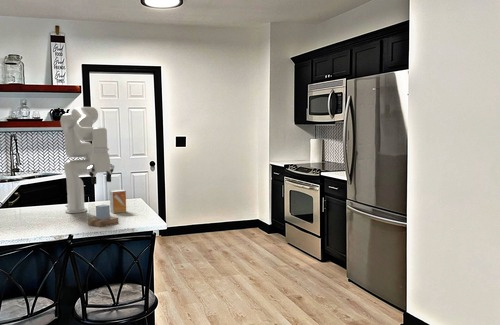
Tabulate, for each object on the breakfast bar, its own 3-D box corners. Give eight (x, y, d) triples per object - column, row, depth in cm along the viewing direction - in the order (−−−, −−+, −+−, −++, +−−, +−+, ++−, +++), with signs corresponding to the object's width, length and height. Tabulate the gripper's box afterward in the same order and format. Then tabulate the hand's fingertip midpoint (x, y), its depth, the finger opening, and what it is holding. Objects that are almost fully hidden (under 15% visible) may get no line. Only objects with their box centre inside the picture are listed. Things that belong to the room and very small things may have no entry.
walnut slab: (88, 224, 247) (88, 219, 246) (104, 220, 256) (104, 215, 255) (101, 227, 241) (101, 221, 240) (118, 223, 250) (118, 217, 250)
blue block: (96, 218, 247) (95, 205, 247) (103, 217, 251) (103, 204, 251) (102, 219, 244) (101, 206, 244) (110, 218, 249) (109, 205, 248)
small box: (113, 213, 276) (112, 191, 275) (110, 211, 281) (109, 190, 280) (126, 211, 281) (125, 190, 279) (123, 210, 286) (122, 189, 285)
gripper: (108, 149, 254) (109, 180, 256) (81, 151, 240) (83, 184, 241) (117, 150, 250) (119, 181, 252) (91, 152, 236) (92, 185, 237)
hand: (101, 182), depth 246 cm, fingers open, 9 cm apart
